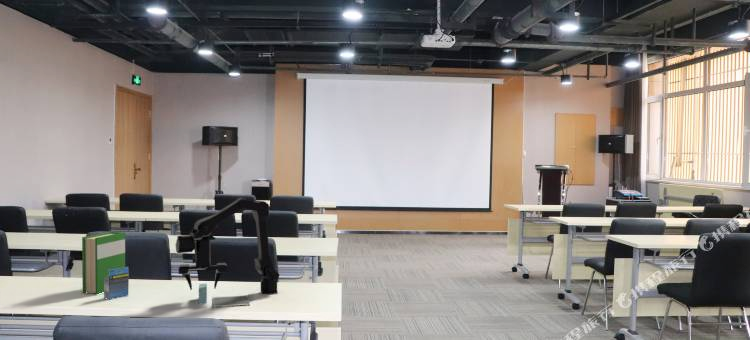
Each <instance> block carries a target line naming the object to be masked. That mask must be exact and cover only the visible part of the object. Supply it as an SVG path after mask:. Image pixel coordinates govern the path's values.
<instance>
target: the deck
mask: <svg viewBox="0 0 750 340" xmlns="http://www.w3.org/2000/svg"><path fill="white" fill-rule="evenodd" d="M207 288H208V284H207V283H199V284H198V304H199V303H202V304H207V302H208V301H207V298H208V289H207Z"/></svg>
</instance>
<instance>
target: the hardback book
mask: <svg viewBox="0 0 750 340" xmlns="http://www.w3.org/2000/svg"><path fill="white" fill-rule="evenodd" d="M81 238H82V239H81V242H82V244H81V245H82V246H81V247H82V248H81V251H82V252H81V253H82V254H81V255H82V256H81V257H82V260H81V261H82V266H81V267H82V294H83V293H86V292H89V293H91V294H93V293H94V294H95V295H96V294H99V293H102V292H104V278H106V277H108V276H109V270H111V269H118V268H124V267H126V232H123V231H107V232H102V233H98V234H93V235H87V236H83V237H81ZM120 272H122V271H119V270H118V271H117V272H116V273H120ZM86 294H87V293H86ZM102 294H103V293H102ZM99 295H100V294H99Z"/></svg>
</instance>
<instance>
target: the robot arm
mask: <svg viewBox="0 0 750 340" xmlns="http://www.w3.org/2000/svg"><path fill="white" fill-rule="evenodd" d="M243 209H246V210H250V211H251V212H252V213H251V214H252V217H253V218H254V220H255V226H256V236H257V237H256V238H257V239H256V240H257V249H258V255H257V258H254V268H255V269H256V271H257V273H258V274H259V275H260V277H261V281H260V292H261V294H263V295H267V294H271V295H272V294H278V293H279V292H278V280H279V278H280V274H279V272H278V271H276V270H275V266H274V262H273V260H272V256H271V255H270V245H269V234H268V233H269V232H268V222H267V221H268V218H269V215H270V205H269V204H268V203H267V202H266V201H263V200H259V199H258V200H255V201H252V200H248V199H245V198H242V197H239V198H237V199H236V200H235V201H233V202H231V203H230V204H228V205H227V206H225V207H223V208H222V209H220V210H218V211H217V212H215V213H214V214H212V215H209V216H206V217H202V218H201V219H198V220H196V221H195V223H194V225H193V226H194V227H193V229H191V232H190V233H189V234H188V235H177V237H176V238H177V239H176V242H175V251H176V253H177V254H183V253H184V254H186V253H193V251H195V254H193V255H192V264H195V265H192V266H190V264H187V263H186V264H180V265H178V275H181V276H182V277H184V278H185V280H186V282H187V284H188V287H189V289H190V291H192V290H193V288H192V287H193V285H192V278H191V272H199V271H215V278H214V286H213V287H214V290H215V289H216V287H217V285H218V282H219V280H220V277H221V276H222V275H224V273H227V272H228V265H227V263H226V262H217V263H216V265H215V264H214V265H211V259H212V258H211V241H214V240H216V237H215V236H214V235H213V234H212V232H213V231H214V230H215V229H216V228H217V227H218V225H219V224H221V223H222V222H223V221H226V220H227V219H229V218H230V217H232V216H234V215H235V214H236V213H238V212H239V211H241V210H243Z"/></svg>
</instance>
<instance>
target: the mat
mask: <svg viewBox="0 0 750 340" xmlns="http://www.w3.org/2000/svg"><path fill="white" fill-rule="evenodd" d="M246 305H248V306H250V305H251V304H250V300H249V295H248V294H244V295H243V294H242V295H229V296H214V297H212V308H213V307H215V308H223V307H222V306H232V307H243V306H244V307H246Z"/></svg>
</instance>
